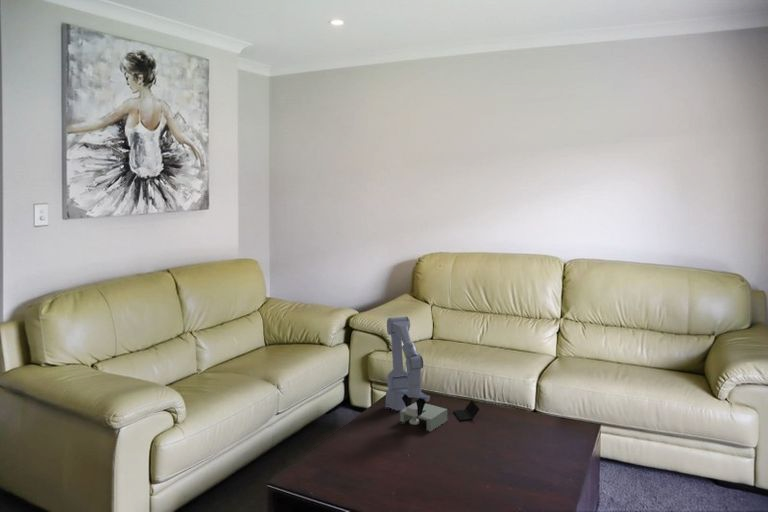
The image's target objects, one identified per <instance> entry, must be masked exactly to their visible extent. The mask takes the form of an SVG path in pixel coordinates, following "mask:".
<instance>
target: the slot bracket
mask: <svg viewBox="0 0 768 512" xmlns="http://www.w3.org/2000/svg"><path fill="white" fill-rule="evenodd" d="M413 404H416V405H417V403H416V401H415V402H413ZM410 418H412V415H409V414H406V408H404V409H403V410H401V411H400V412H399V422H400V421H402V422H405V421H407V420H409V419H410ZM417 419H419V420H422V421H423V420H424V421H426V431H427V430H429V431H428V432H430V431H431V432H432V431H434V430H435V428H436V429H437V428H439V427H440V426H442V425H443V424H445V423H447V422H448V408H444V407H440V406H437V405H433V404H430V403H429V404H428V403H427V402H426V403H425V405H424V408H423V411H422V415H420V416H417ZM446 421H447V422H446ZM441 424H442V425H441ZM438 426H439V427H438ZM433 429H434V430H433Z"/></svg>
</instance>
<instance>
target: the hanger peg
mask: <svg viewBox="0 0 768 512" xmlns="http://www.w3.org/2000/svg"><path fill="white" fill-rule="evenodd" d="M406 414H409V415H412V419H410V420H409V421H408V423H409V424H410V425H414V426H416V425H419V424H420V419H419V418H418V408H417V405H416V404H414V403H412V404H411V405H410V406H408V407H406Z"/></svg>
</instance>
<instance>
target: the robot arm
mask: <svg viewBox="0 0 768 512" xmlns="http://www.w3.org/2000/svg"><path fill="white" fill-rule="evenodd" d="M410 328H411V320H410V318H409V316H406V315H405V316H399V317H388V318H387V320H386V331H387V335H389V336H390V338H391V339H390V340H391V356H392V357H391V358H392V370H391V371H390V372H388V374H387V381H386V385H387V390H386V393H385V407H390V408H392V409H395V410H403V409H404V408H406V407H408V406H410V405H411V404H413V402H412V401H413V398H415V399H417V400H415V402H416V403H417V408H418V416H420V415H422V413H423V412H422V411H423V408H424V405H425V403H426V404H427V402H429V401H430V400H431V396H430V395H427V394H426V393H424V392H422V369H423V368H424V359H423V356H422V355H421V353H419V352H418V350H417V347H416V344H415V343H414V342H413V341H412V340H411V335H410V332H409V331H410ZM402 343H403V344H402ZM403 353H404V356H403ZM403 357H405V366H406V367H405V368H406V370H405V369H404V361H403ZM418 416H417V417H418Z"/></svg>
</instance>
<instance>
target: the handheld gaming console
mask: <svg viewBox="0 0 768 512" xmlns="http://www.w3.org/2000/svg"><path fill="white" fill-rule="evenodd" d="M479 411H480V407H478V405H477V404H476V402H475V401H473V400H470V401H469V402H468V404H467V405H466V407H465V408H464V409H459V410H458V409H457V410H453V411H452V412H454V413H453V415H454V416H455V417H456V416H457V417H456V418H457V419H458V420H459V422H471V420H472V421H473V419H474V418H475V417H476V415H477V413H478V412H479Z"/></svg>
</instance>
